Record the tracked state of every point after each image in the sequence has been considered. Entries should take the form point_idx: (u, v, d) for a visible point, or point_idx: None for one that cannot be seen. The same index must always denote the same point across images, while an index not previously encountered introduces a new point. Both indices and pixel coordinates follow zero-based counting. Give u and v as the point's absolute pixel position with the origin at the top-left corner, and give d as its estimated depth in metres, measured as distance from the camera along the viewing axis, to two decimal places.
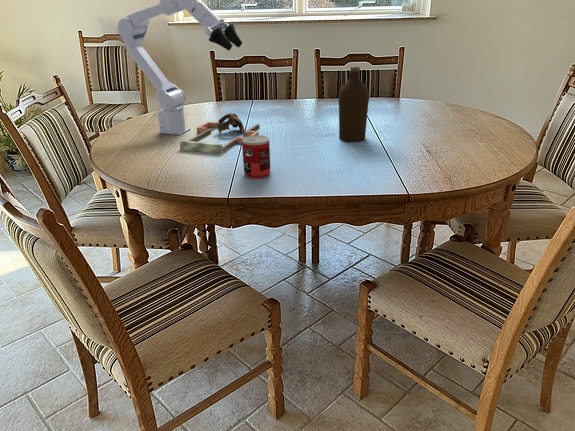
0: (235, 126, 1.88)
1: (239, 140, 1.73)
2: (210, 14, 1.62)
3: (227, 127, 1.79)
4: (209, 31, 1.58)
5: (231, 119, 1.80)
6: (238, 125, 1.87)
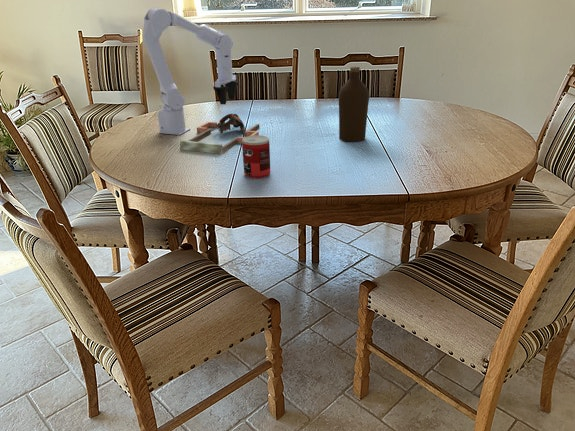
0: (236, 126, 1.88)
1: (239, 140, 1.73)
2: (228, 70, 1.86)
3: (228, 127, 1.79)
4: (218, 85, 1.84)
5: (232, 119, 1.79)
6: (239, 125, 1.87)
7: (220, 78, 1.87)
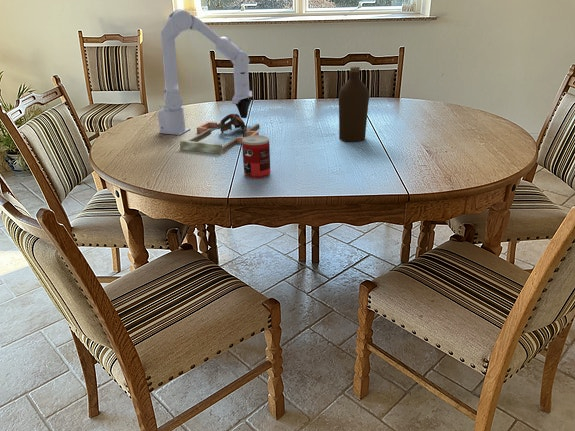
0: (237, 126, 1.88)
1: (239, 140, 1.73)
2: (246, 87, 1.87)
3: (230, 127, 1.79)
4: (235, 102, 1.84)
5: (234, 119, 1.79)
6: (240, 125, 1.87)
7: (237, 94, 1.88)
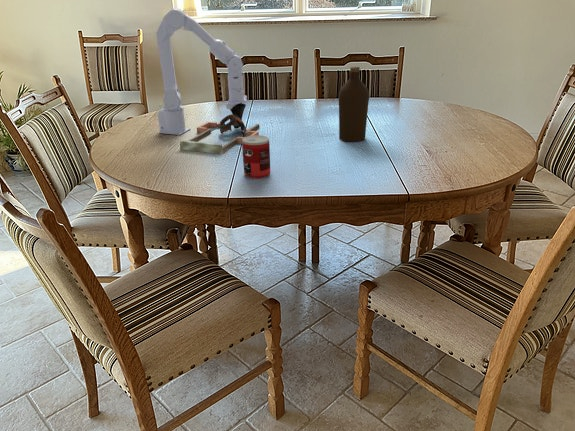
0: (237, 127, 1.86)
1: (239, 140, 1.73)
2: (240, 91, 1.83)
3: (229, 128, 1.78)
4: (229, 107, 1.80)
5: (233, 120, 1.78)
6: (240, 126, 1.85)
7: (231, 99, 1.84)
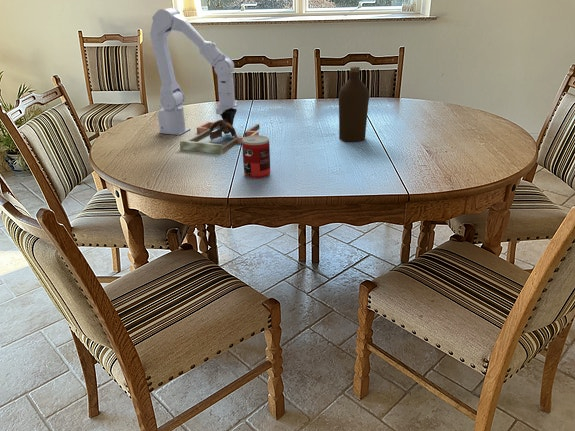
0: (227, 132, 1.80)
1: (239, 140, 1.73)
2: (230, 96, 1.76)
3: (220, 135, 1.71)
4: (219, 112, 1.74)
5: (224, 126, 1.71)
6: (230, 131, 1.79)
7: (221, 104, 1.77)
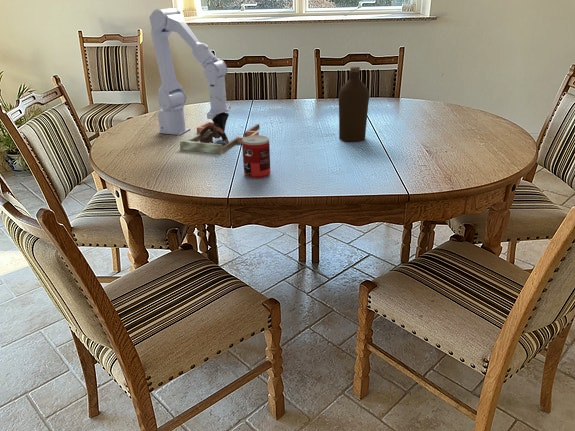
0: None
1: (239, 140, 1.73)
2: (222, 100, 1.70)
3: (211, 140, 1.65)
4: (210, 117, 1.68)
5: (214, 131, 1.66)
6: (221, 136, 1.73)
7: (213, 108, 1.71)
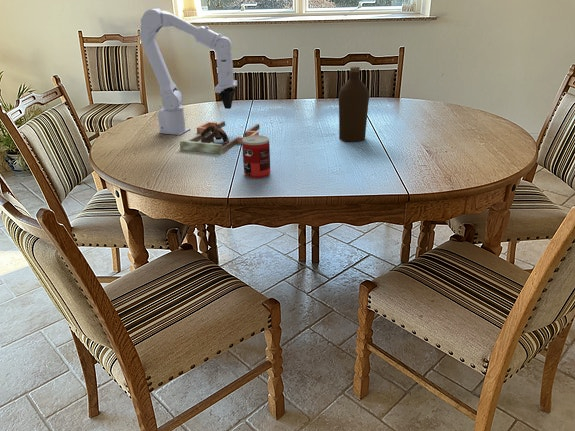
0: (218, 138, 1.74)
1: (239, 140, 1.73)
2: (229, 75, 1.76)
3: (212, 140, 1.65)
4: (218, 91, 1.74)
5: (216, 131, 1.66)
6: (222, 137, 1.74)
7: (220, 83, 1.78)
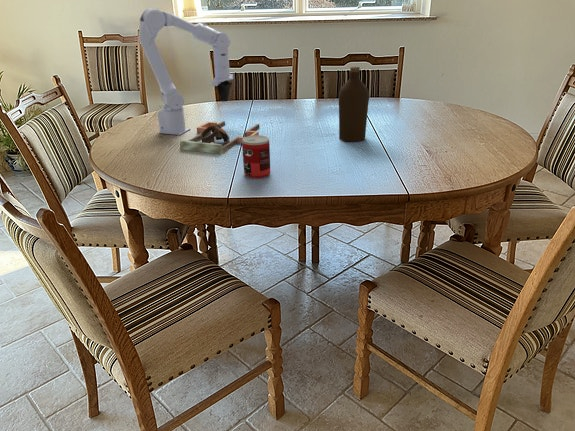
0: (219, 138, 1.74)
1: (239, 140, 1.73)
2: (226, 69, 1.84)
3: (212, 140, 1.65)
4: (215, 84, 1.82)
5: (216, 131, 1.66)
6: (222, 137, 1.73)
7: (217, 77, 1.85)
